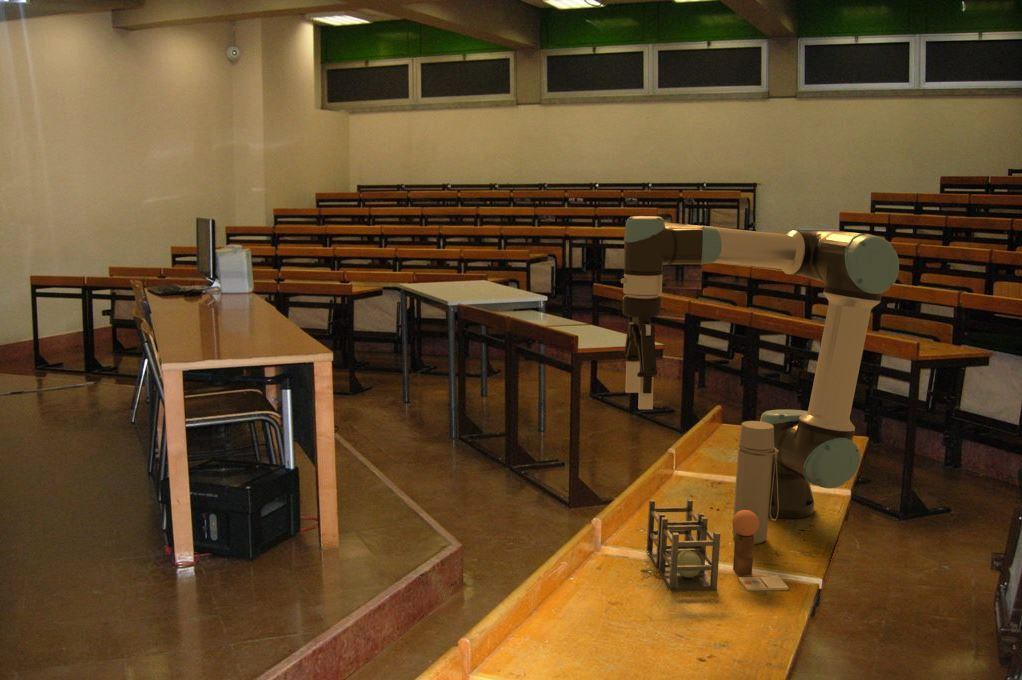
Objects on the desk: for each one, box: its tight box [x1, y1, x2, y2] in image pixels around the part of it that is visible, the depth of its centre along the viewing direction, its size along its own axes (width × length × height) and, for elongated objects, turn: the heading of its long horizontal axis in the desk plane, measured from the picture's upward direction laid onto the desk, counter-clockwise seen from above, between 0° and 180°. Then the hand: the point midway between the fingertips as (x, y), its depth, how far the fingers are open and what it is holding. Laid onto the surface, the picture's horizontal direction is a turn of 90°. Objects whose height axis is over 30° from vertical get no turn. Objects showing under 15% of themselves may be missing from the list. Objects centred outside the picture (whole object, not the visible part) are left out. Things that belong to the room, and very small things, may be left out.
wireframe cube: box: [646, 498, 705, 570], centre depth 194 cm, size 9×9×11 cm
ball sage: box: [677, 551, 702, 578], centre depth 185 cm, size 5×5×5 cm
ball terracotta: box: [731, 510, 759, 536], centre depth 189 cm, size 5×5×5 cm
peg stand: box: [732, 533, 755, 576], centre depth 190 cm, size 3×3×8 cm
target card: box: [737, 576, 790, 592], centre depth 185 cm, size 8×5×1 cm, turn 96°
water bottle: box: [731, 420, 779, 545], centre depth 205 cm, size 9×8×25 cm
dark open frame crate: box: [658, 516, 721, 592], centre depth 185 cm, size 9×9×11 cm
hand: (638, 400), depth 196 cm, fingers open, 13 cm apart
